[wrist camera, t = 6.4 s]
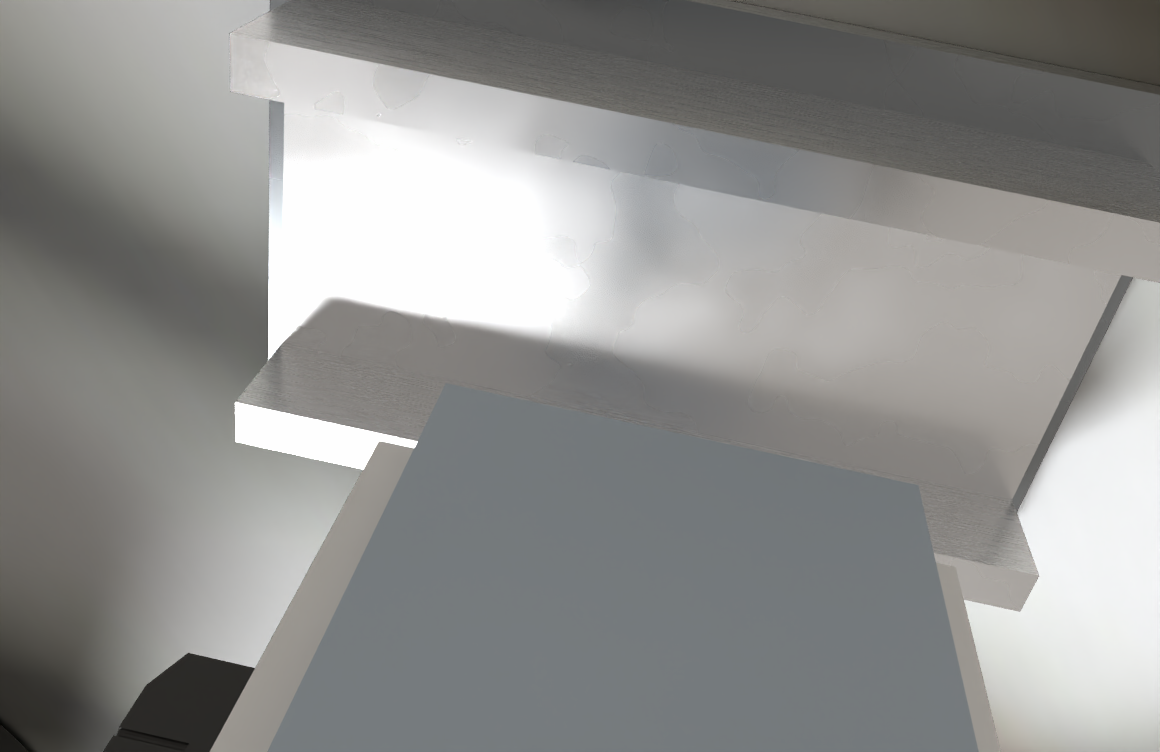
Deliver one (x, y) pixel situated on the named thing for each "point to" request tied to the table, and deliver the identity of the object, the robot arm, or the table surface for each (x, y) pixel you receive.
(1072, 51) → the table surface
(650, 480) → the block
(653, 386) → the grey piece
